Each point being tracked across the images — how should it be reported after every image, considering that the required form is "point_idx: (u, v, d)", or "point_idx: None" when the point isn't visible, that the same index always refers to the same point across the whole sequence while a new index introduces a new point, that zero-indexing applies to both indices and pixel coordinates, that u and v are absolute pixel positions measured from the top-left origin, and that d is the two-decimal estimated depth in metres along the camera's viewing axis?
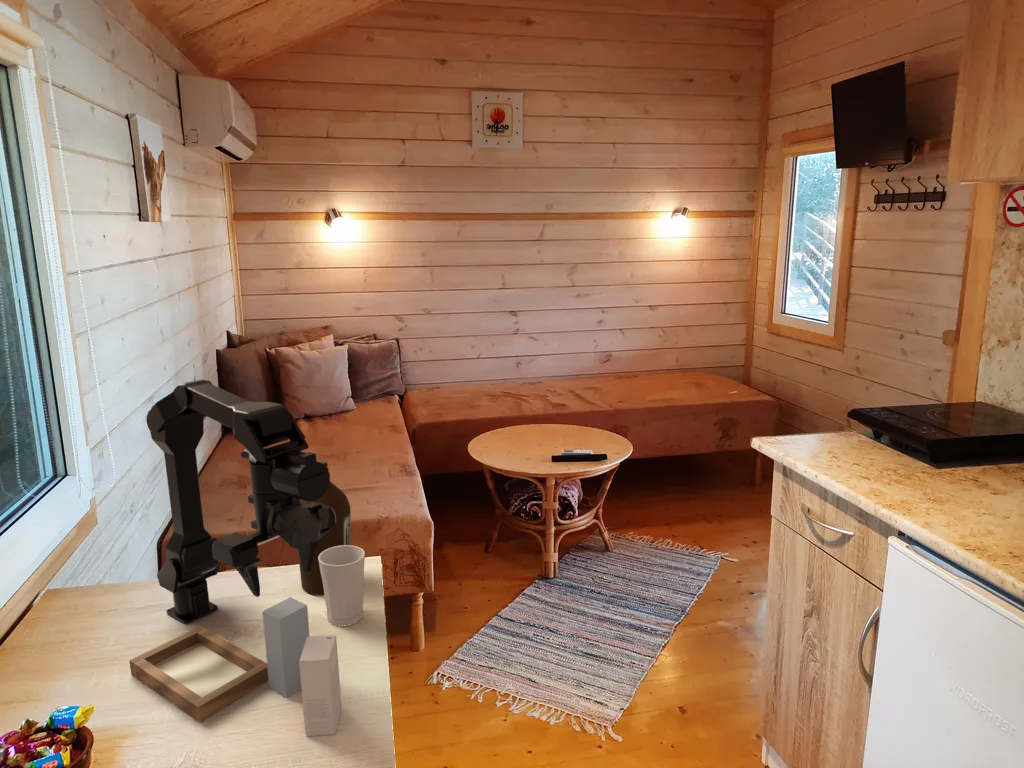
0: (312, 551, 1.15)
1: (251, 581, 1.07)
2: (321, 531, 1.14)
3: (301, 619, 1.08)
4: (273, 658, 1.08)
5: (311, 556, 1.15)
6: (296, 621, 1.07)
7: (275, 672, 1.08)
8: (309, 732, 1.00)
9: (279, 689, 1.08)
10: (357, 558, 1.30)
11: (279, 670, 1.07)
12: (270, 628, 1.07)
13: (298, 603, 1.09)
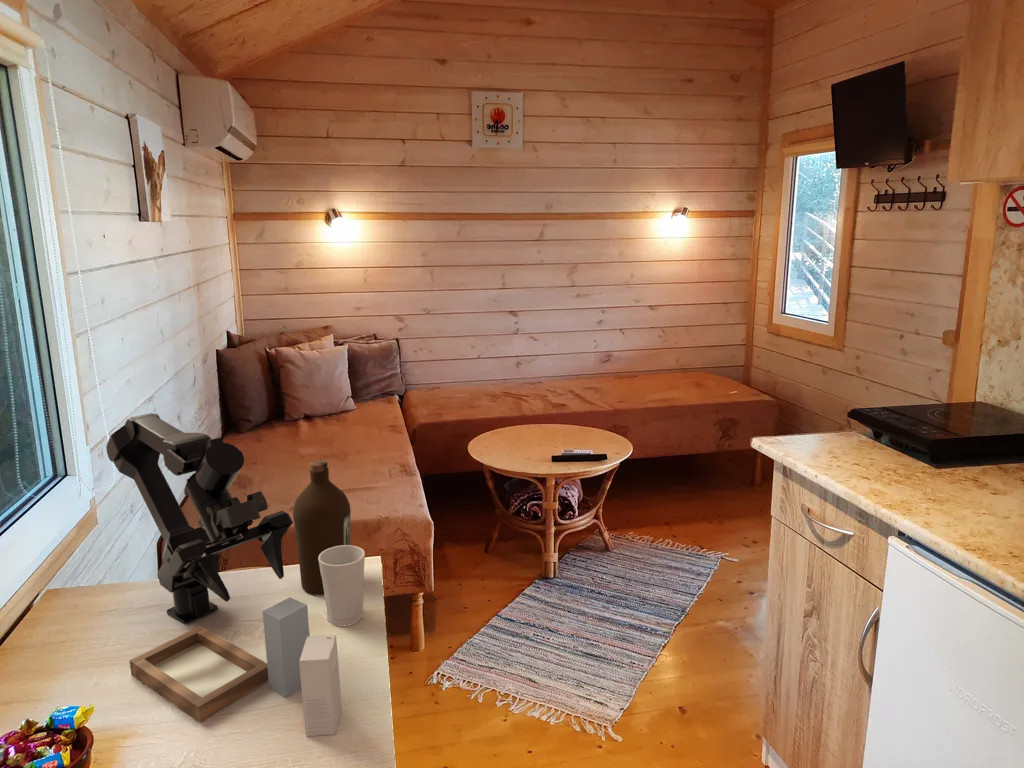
0: (278, 553, 1.17)
1: (214, 583, 1.09)
2: (277, 530, 1.18)
3: (301, 619, 1.08)
4: (273, 658, 1.08)
5: (279, 559, 1.17)
6: (296, 621, 1.07)
7: (275, 672, 1.08)
8: (309, 732, 1.00)
9: (279, 689, 1.08)
10: (357, 558, 1.30)
11: (279, 670, 1.07)
12: (270, 628, 1.07)
13: (298, 603, 1.09)
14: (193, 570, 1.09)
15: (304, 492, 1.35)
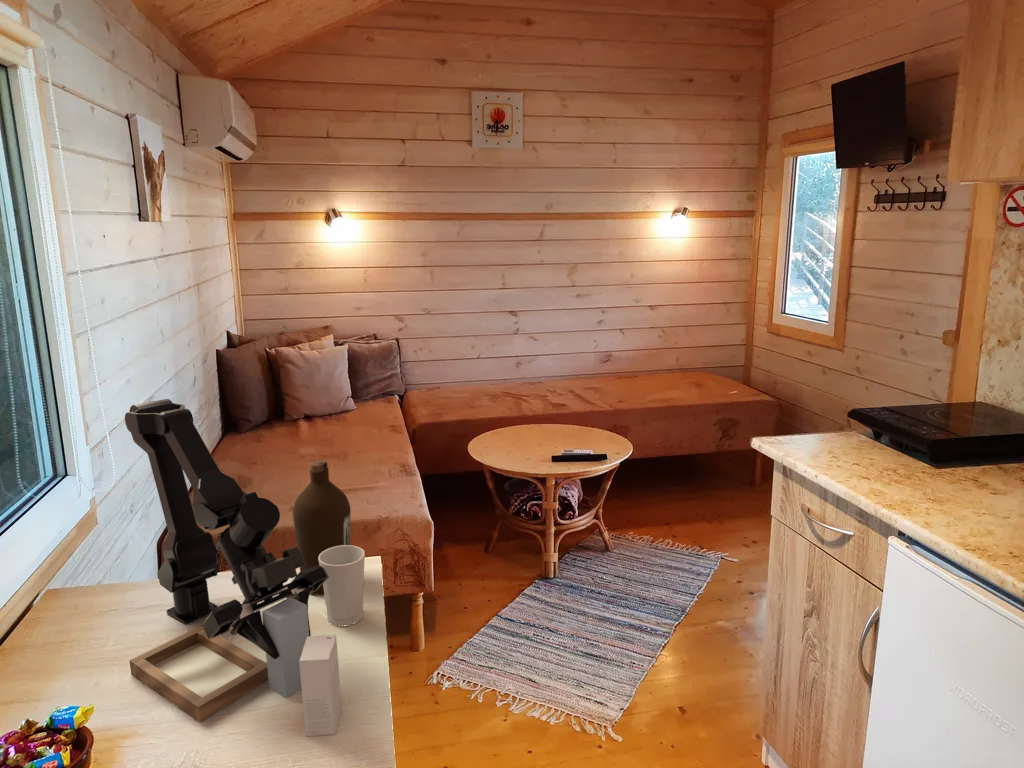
0: None
1: (263, 640, 1.06)
2: None
3: (301, 619, 1.08)
4: None
5: None
6: (295, 621, 1.07)
7: (275, 672, 1.08)
8: (309, 732, 1.00)
9: (279, 689, 1.08)
10: (357, 558, 1.30)
11: (279, 670, 1.07)
12: (270, 628, 1.06)
13: (297, 603, 1.09)
14: (240, 627, 1.06)
15: (304, 492, 1.35)
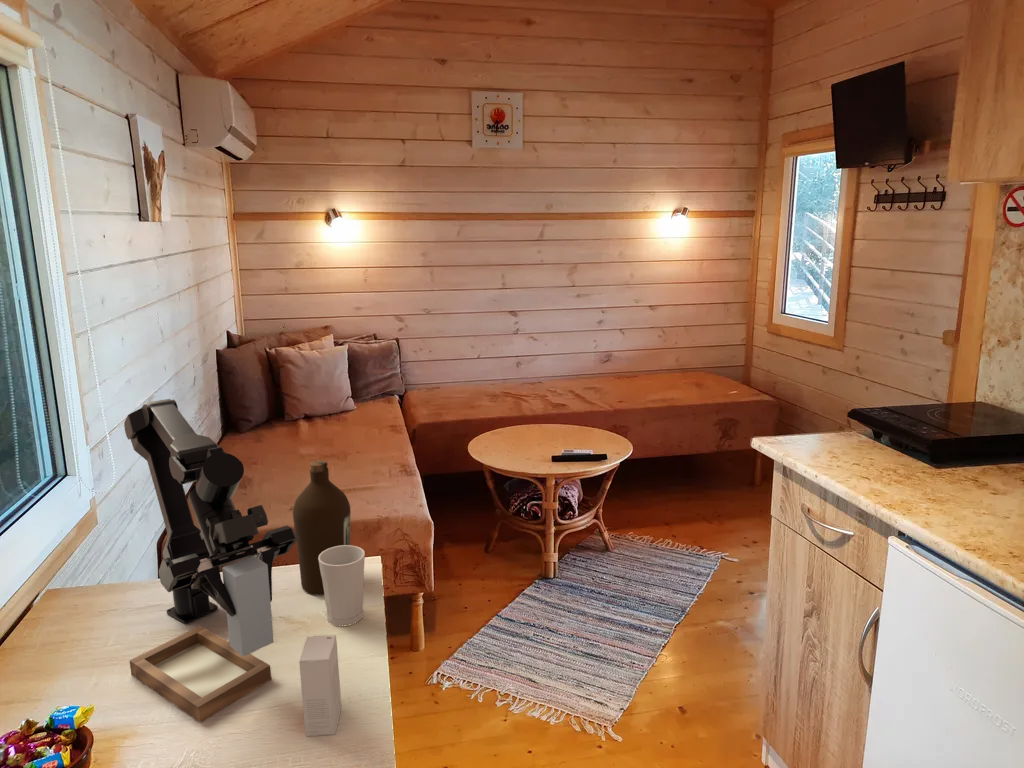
0: None
1: (220, 597, 1.05)
2: (268, 550, 1.10)
3: (260, 578, 1.06)
4: None
5: None
6: (254, 579, 1.05)
7: (234, 630, 1.06)
8: (309, 732, 1.00)
9: (237, 648, 1.07)
10: (357, 558, 1.30)
11: (237, 628, 1.06)
12: (228, 585, 1.05)
13: (259, 562, 1.07)
14: (200, 582, 1.05)
15: (304, 492, 1.35)
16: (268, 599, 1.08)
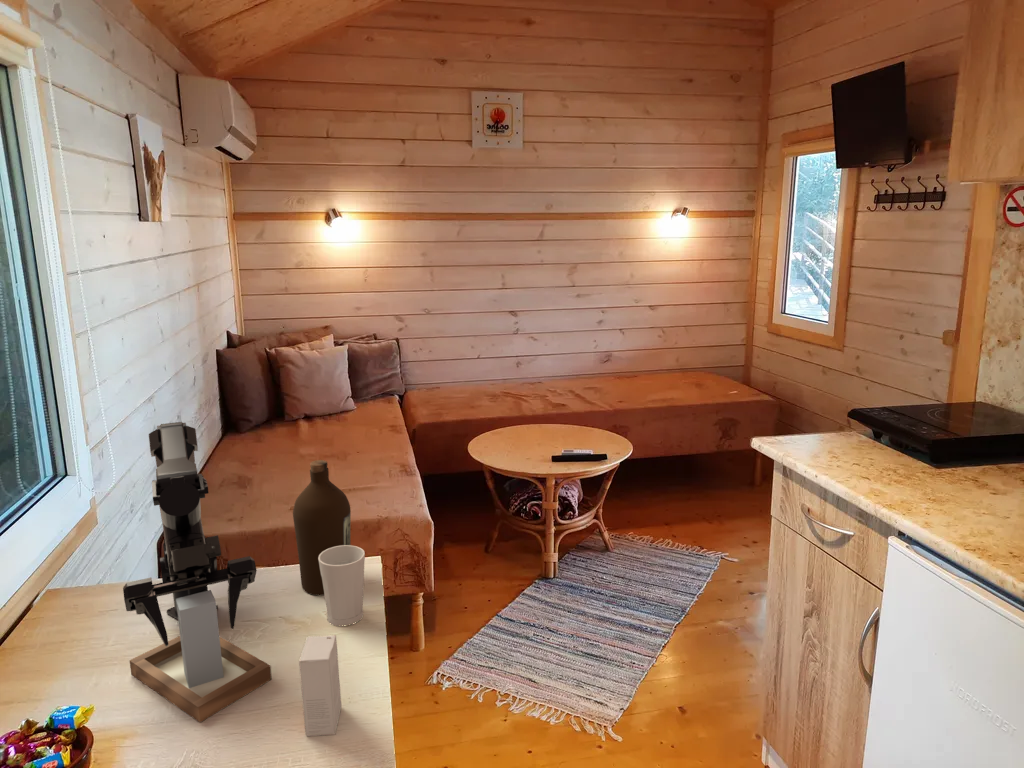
0: (233, 602, 1.12)
1: (156, 625, 1.07)
2: (236, 577, 1.13)
3: (208, 614, 1.08)
4: (182, 646, 1.09)
5: (232, 608, 1.12)
6: (201, 614, 1.08)
7: (184, 660, 1.10)
8: (309, 732, 1.00)
9: (186, 678, 1.10)
10: (357, 558, 1.30)
11: (184, 660, 1.09)
12: (178, 617, 1.08)
13: (210, 597, 1.10)
14: (141, 608, 1.09)
15: (304, 492, 1.35)
16: (217, 635, 1.10)
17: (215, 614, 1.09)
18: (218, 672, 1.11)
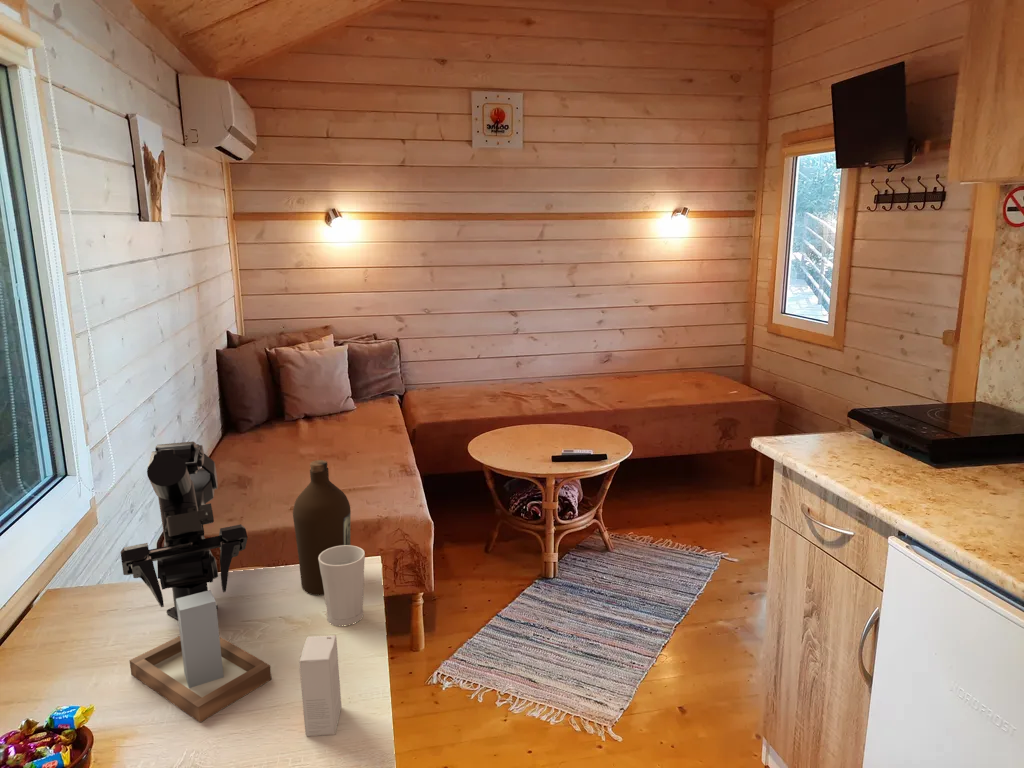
0: (225, 567, 1.18)
1: (152, 588, 1.13)
2: None
3: (208, 614, 1.08)
4: (182, 646, 1.09)
5: (224, 572, 1.18)
6: (201, 614, 1.08)
7: (184, 660, 1.10)
8: (309, 732, 1.00)
9: (186, 678, 1.10)
10: (357, 558, 1.30)
11: (184, 660, 1.09)
12: (178, 617, 1.08)
13: (210, 597, 1.10)
14: (138, 572, 1.15)
15: (304, 492, 1.35)
16: (217, 635, 1.10)
17: (215, 614, 1.09)
18: (218, 672, 1.11)
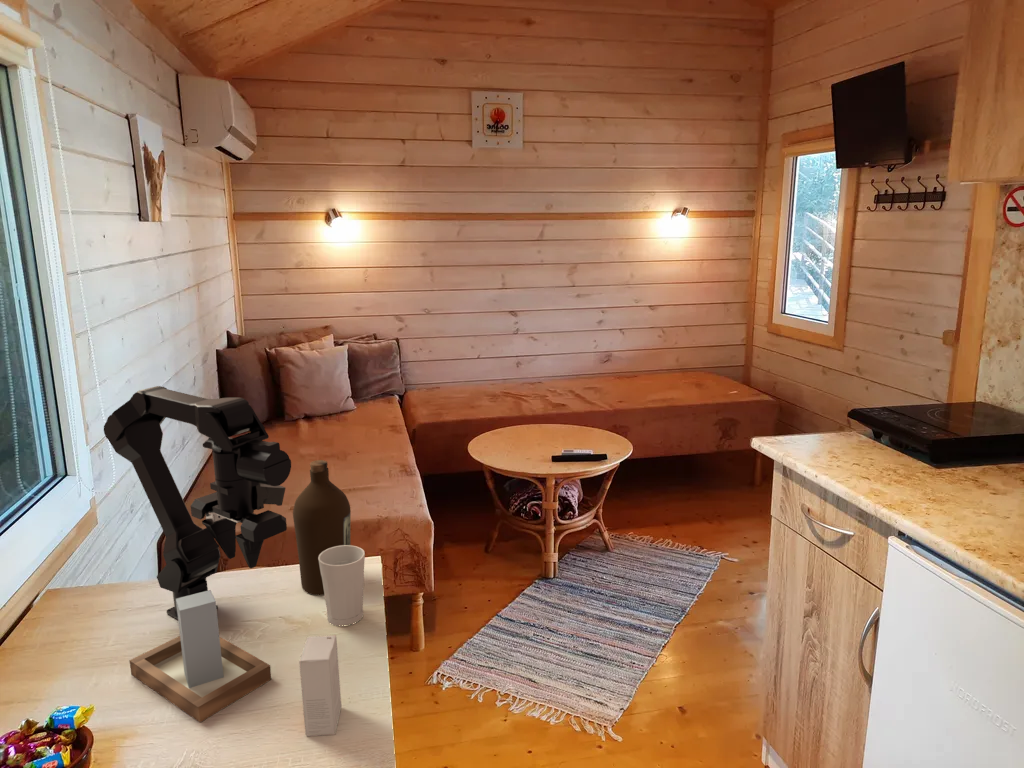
0: None
1: (259, 550, 1.20)
2: None
3: (208, 614, 1.08)
4: (182, 646, 1.09)
5: None
6: (201, 614, 1.08)
7: (184, 660, 1.10)
8: (309, 732, 1.00)
9: (186, 678, 1.10)
10: (357, 558, 1.30)
11: (184, 660, 1.09)
12: (178, 617, 1.08)
13: (210, 597, 1.10)
14: None
15: (304, 492, 1.35)
16: (217, 635, 1.10)
17: (215, 614, 1.09)
18: (218, 672, 1.11)
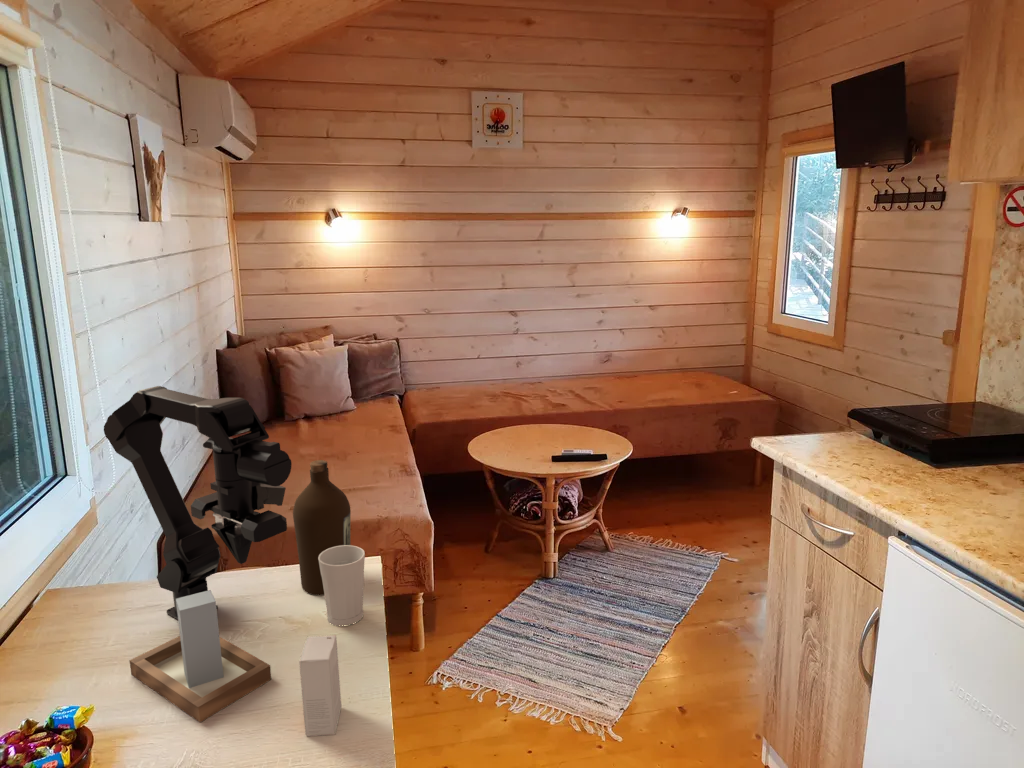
0: None
1: (249, 546, 1.21)
2: None
3: (208, 614, 1.08)
4: (182, 646, 1.09)
5: None
6: (201, 614, 1.08)
7: (184, 660, 1.10)
8: (309, 732, 1.00)
9: (186, 678, 1.10)
10: (357, 558, 1.30)
11: (184, 660, 1.09)
12: (178, 617, 1.08)
13: (210, 597, 1.10)
14: None
15: (304, 492, 1.35)
16: (217, 635, 1.10)
17: (215, 614, 1.09)
18: (218, 672, 1.11)
